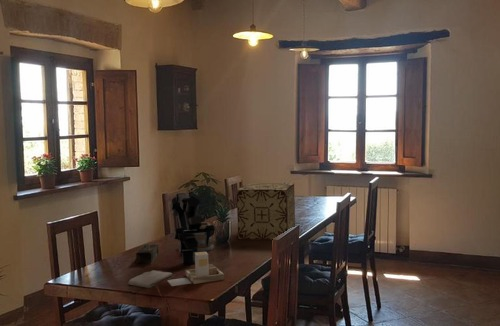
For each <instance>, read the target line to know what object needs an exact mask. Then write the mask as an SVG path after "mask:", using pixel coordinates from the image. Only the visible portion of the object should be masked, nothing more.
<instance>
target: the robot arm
mask: <svg viewBox="0 0 500 326" xmlns="http://www.w3.org/2000/svg"><path fill="white" fill-rule="evenodd" d="M200 203H201V202H200V200H199V199H198V197H195V195H189V196H188V195H187V193H185V192H179V193H176V194H175V197H173V198H172V199H171V202H170V210H171V211H172V213H173V215H174V216H176V218H177V221H178V225H179V227H175V229H174V232H173V237H174V240H177V241H179V244H178V251H179V253H180V254H182V260H180V264H182V265H183V266H189V265H195V252H197V250H198V249H197V248H198V242H197V239H196V238H195V235H194V234H198V233H205V240H206V245H207V247H208V242H209V237H211V236H212V237H213V236H215V235H214V234H215V231H216V227H215V225H214V224H211V225H206V227H205V228H204V229H200V227H201V222H202V223H205V221H206V219H205V215H204V214H200V215H198V211H199V206H200Z"/></svg>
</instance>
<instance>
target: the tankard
mask: <svg viewBox="0 0 500 326" xmlns="http://www.w3.org/2000/svg"><path fill="white" fill-rule="evenodd" d="M206 225H212V224H211V223H209V222H201V227H200V229H204V228H205V227H206ZM194 235H195V238H196V239H197V242H198V248H197V249H198V250H197V251H196V252H207V251H208V252H209V251H212V250H213V249H214V248H215V245H214V244H213V243H212V242H213V236H211V237H209V242H208V247H207V245H206V240H205V233H198V234H194Z"/></svg>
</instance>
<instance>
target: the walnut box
mask: <svg viewBox="0 0 500 326" xmlns="http://www.w3.org/2000/svg"><path fill="white" fill-rule="evenodd" d="M217 269H218V267H217V266H215V265H214V264H213V263H211V264H210V263H209V276H210V275H217Z"/></svg>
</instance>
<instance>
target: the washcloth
mask: <svg viewBox="0 0 500 326" xmlns="http://www.w3.org/2000/svg"><path fill="white" fill-rule="evenodd" d="M172 276H173V273H172V272H167V271H162V270H153V269H152V270H151V271H146V272H145V271H144V272H143V273H142V274H141V273H140V275H139V274H138V275H136V276H134V277H132V278H130V280H129V281H128V285H130V286H133V287H134V286H135V287H141V288H147V289H149V288H150V289H151V288H153V287H155V286H156V285H158V284H157V283H161V282H162V281H164V280H166V279H168V278H170V277H172Z"/></svg>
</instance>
